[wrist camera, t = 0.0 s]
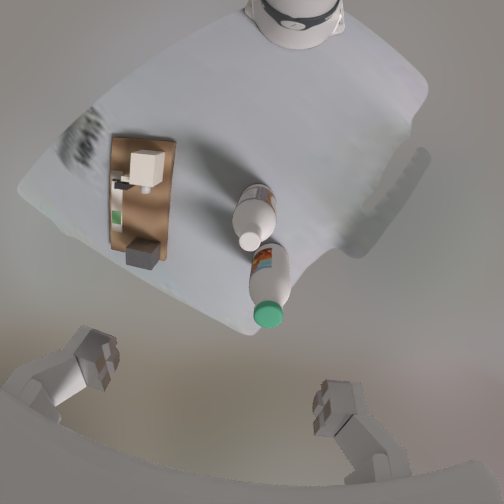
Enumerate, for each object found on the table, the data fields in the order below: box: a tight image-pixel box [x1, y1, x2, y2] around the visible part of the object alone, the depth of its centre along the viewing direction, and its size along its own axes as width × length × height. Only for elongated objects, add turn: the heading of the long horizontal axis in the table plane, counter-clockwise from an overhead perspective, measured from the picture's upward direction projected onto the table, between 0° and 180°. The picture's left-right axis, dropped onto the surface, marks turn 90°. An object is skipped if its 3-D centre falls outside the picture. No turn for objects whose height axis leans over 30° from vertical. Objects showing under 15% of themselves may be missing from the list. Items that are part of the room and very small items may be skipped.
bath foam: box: [232, 184, 276, 251], centre depth 47 cm, size 7×7×20 cm
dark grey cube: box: [126, 237, 161, 270], centre depth 59 cm, size 4×6×6 cm, turn 80°
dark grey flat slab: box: [113, 180, 136, 190], centre depth 53 cm, size 1×5×4 cm, turn 80°
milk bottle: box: [249, 243, 291, 328], centre depth 53 cm, size 8×8×20 cm
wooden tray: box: [110, 137, 176, 261], centre depth 57 cm, size 26×14×2 cm, turn 170°
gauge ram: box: [121, 150, 165, 194], centre depth 51 cm, size 8×8×5 cm
